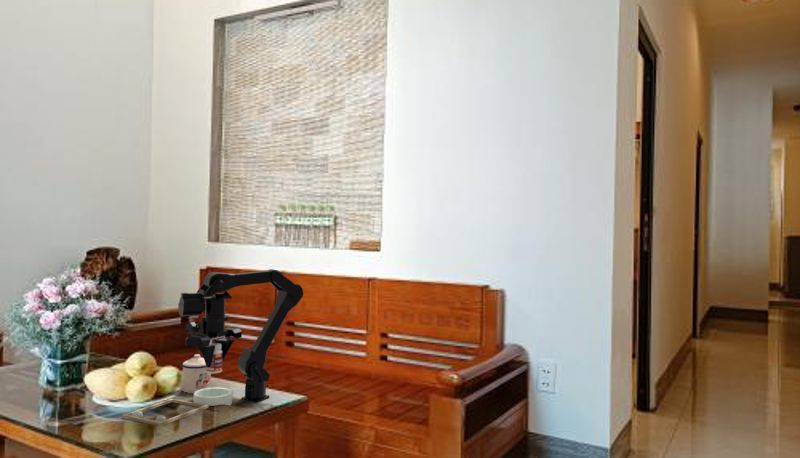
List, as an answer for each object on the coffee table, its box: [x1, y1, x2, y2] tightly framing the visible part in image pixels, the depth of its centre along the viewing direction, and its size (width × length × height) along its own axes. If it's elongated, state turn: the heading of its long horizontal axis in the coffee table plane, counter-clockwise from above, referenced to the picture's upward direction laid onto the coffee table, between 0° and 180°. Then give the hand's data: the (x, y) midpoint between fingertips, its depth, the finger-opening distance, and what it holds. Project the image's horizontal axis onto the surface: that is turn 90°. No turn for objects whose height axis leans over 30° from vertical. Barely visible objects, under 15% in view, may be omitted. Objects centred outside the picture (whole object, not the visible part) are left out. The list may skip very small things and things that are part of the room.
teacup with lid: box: [181, 353, 212, 394], centre depth 197 cm, size 12×9×12 cm
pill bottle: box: [206, 342, 223, 375], centre depth 180 cm, size 5×5×8 cm
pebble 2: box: [154, 415, 167, 422], centre depth 160 cm, size 3×3×3 cm
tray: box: [121, 398, 209, 427], centre depth 167 cm, size 18×14×2 cm
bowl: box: [192, 387, 234, 407], centre depth 180 cm, size 11×11×4 cm
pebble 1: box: [132, 410, 144, 418], centre depth 163 cm, size 3×3×3 cm
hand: (214, 365), depth 180 cm, fingers closed on pill bottle, 5 cm apart
